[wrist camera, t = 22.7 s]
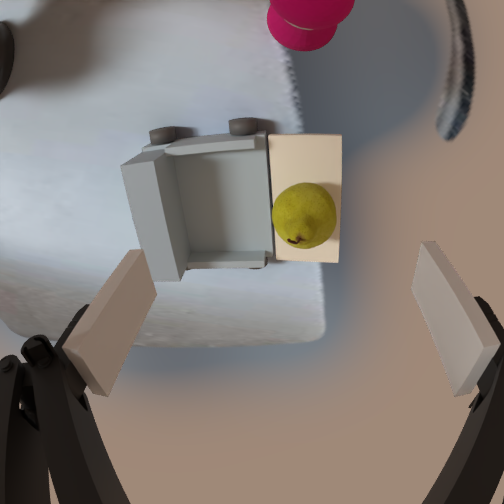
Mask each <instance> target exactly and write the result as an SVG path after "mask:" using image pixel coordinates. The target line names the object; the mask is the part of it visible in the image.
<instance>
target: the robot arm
mask: <svg viewBox="0 0 504 504" xmlns="http://www.w3.org/2000/svg"><path fill="white" fill-rule="evenodd" d="M13 58H14V42H13V37H12V34H11V31H10V29H9V28H8V27H7V26H6V25H5V24H3V23H0V94H1V92H2V91H3V89H4V87H5V85H6V83H7V81H8V79H9V76H10V73H11V69H12V64H13ZM411 290H412V292H413V294H414V297H415V299H416V301H417V303H418V305H419V308H420V310H421V312H422V314H423V317H424V319H425V321H426V324H427V326H428V328H429V331H430V333H431V336H432V338H433V340H434V343H435V345H436V348H437V350H438V353H439V355H440V358H441V361H442V363H443V366H444V368H445V371H446V374H447V377H448V380H449V383H450V385H451V388H452V391H453V394H454V397H456V396H461V395H465V394H469V393H471V392H472V390H473V389H474V387H475V386H476V384H477V385H478V388H479V390H480V391H479V393H478V394H477V396H476V397H475V398H474V400H473V401H472V403H471V404H470V405H469V408H471V407H472V408H471V411H470V413H469V416H468V418H467V420H466V423H465V425H464V427H463V429H462V432H461V434H460V436H459V438H458V440H457V442H456V444H455V446H454V448H453V450H452V452H451V455H450V457H449V458H448V460H447V462H446V464H445V466H444V468H443V469H442V471H441V473H440V475H439V476H438V478H437V480H436V482H435V484H434V485H433V487H432V488H431V490H430V492H429V493H428V495H427V497H426V498H425V500H424V501H423V503H422V504H489V503H490V502H491V499H492V497H493V495H494V493H495V491H496V488H497V486H498V484H499V481H500V479H501V476H502V474H503V471H504V329H503V327H502V325H501V324H500V322H499V321H498V319H497V317H496V315H495V314H494V313H493V311H492V309H491V307H490V306H489V304H488V303H487V302H486V301H484V300H483V299H482V298H481V297H480V296H478V297H473V296H472V294H471V292H470V291H469V290H468V288H467V286H466V285H465V283H464V282H463V280H462V279H461V277H460V276H459V274H458V273H457V271H456V270H455V268H454V267H453V265H452V264H451V263H450V261H449V260H448V258H447V257H446V255H445V254H444V253H443V251H442V250H441V249H440V247H439V246H438V244H437V243H436V242H435V241H424V242H421V246H420V251H419V256H418V261H417V265H416V270H415V274H414V279H413V283H412V288H411ZM156 295H157V293H156V290H155V286H154V283H153V280H152V277H151V274H150V270H149V267H148V263H147V260H146V257H145V253H144V250H143V249H136V250H129V252H128V253H127V254H126V255H125V257H124V258H123V259H122V261H121V262H120V263H119V265H118V266H117V268H116V269H115V270H114V272H113V273H112V274H111V276H110V277H109V278H108V280H107V281H106V283H105V284H104V285H103V287H102V288H101V290H100V291H99V292H98V294H97V295H96V297H95V298H94V300H93V301H92V302H91V304H86V305H85V306H84V307H83V308H81V309H80V310H79V311H78V312H77V313H76V315H75V316H74V318H73V319H72V321H71V322H70V323H69V325H68V328H66V329H65V331H64V332H63V334H62V335H61V337H60V338H59V340H58V342H57V343H56V345H55V346H54V348H53V346H52V345H51V343H50V341H49V340H48V338H47V337H46V336H44V335H35V336H33V337H31V338H29V339H28V340H27V341H26V342H25V343H24V344H23V346H22V348H21V354H22V355H23V357H24V358H25V360H26V361H27V362H28V363H21V362H20V360H19V359H18V358H17V356H15V355H8V356H5V357H4V358H3V359H1V360H0V504H51V502H50V491H49V475H48V474H49V473H48V468H49V471H50V474H51V478H52V482H53V485H54V489H55V492H56V495H57V498H58V501H59V504H130V502H129V500H128V498H127V496H126V494H125V492H124V490H123V488H122V486H121V483H120V481H119V479H118V477H117V475H116V472H115V470H114V468H113V466H112V463H111V461H110V459H109V456H108V454H107V451H106V449H105V446H104V444H103V441H102V439H101V436H100V433H99V431H98V428H97V425H96V422H95V419H94V417H93V414H92V411H91V408H90V405H89V401H88V398H87V396H86V394H85V393H84V390H85V388H86V386H88V387H89V389H90V390H91V391H92V393H93V394H97V395H102V396H106V397H108V396H109V394H110V392H111V389H112V387H113V385H114V383H115V381H116V378H117V376H118V374H119V372H120V370H121V367H122V365H123V363H124V361H125V359H126V357H127V354H128V352H129V350H130V348H131V346H132V344H133V342H134V340H135V338H136V336H137V334H138V331H139V329H140V327H141V325H142V323H143V321H144V319H145V317H146V315H147V313H148V311H149V309H150V307H151V305H152V303H153V301H154V299H155V297H156ZM19 403H21V409H19ZM502 504H504V499H503V503H502Z"/></svg>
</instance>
